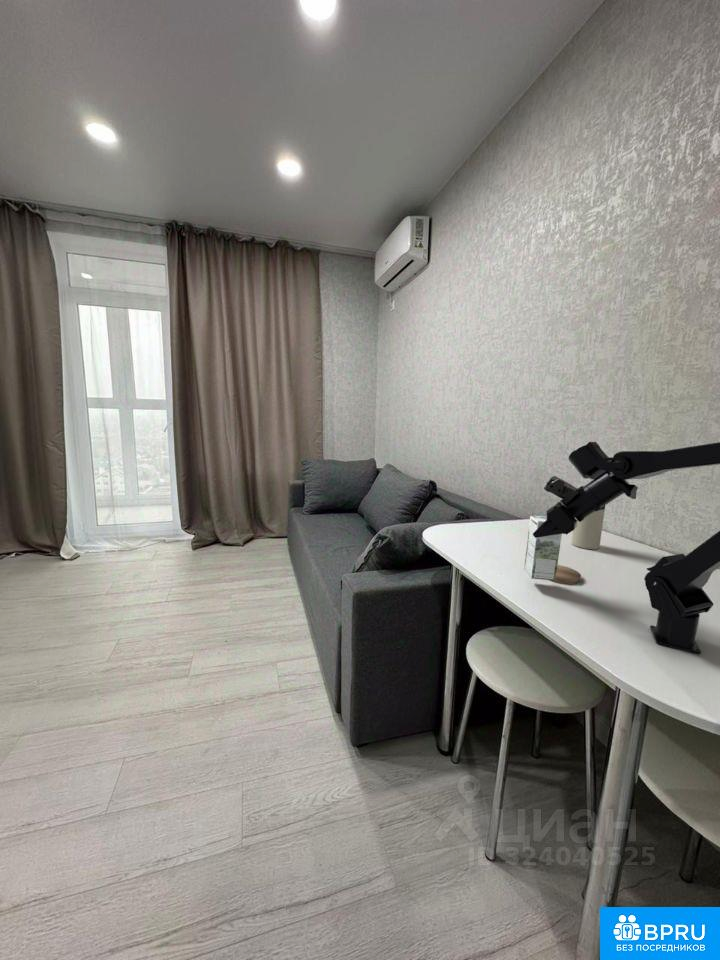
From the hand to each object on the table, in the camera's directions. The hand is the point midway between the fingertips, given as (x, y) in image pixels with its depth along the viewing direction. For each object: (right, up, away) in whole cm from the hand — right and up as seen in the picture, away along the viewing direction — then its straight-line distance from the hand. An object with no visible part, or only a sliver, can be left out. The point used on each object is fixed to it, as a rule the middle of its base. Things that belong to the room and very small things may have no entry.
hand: (537, 532), depth 92 cm
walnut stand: (+9, -12, +8) cm, 17 cm away
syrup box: (+1, -11, +1) cm, 11 cm away
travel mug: (+31, -9, +33) cm, 46 cm away
